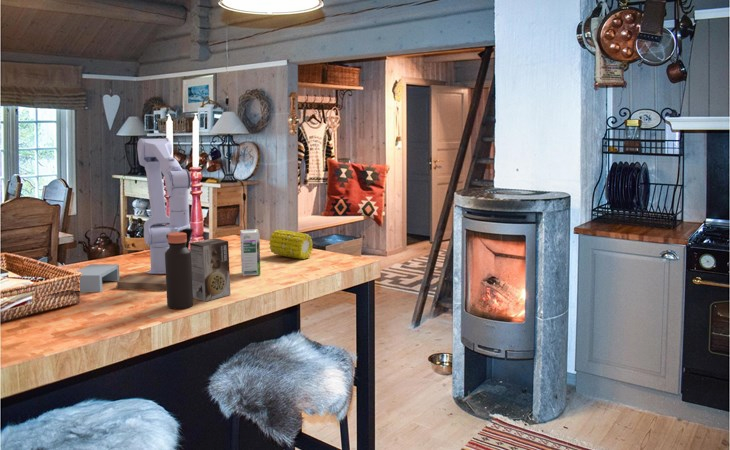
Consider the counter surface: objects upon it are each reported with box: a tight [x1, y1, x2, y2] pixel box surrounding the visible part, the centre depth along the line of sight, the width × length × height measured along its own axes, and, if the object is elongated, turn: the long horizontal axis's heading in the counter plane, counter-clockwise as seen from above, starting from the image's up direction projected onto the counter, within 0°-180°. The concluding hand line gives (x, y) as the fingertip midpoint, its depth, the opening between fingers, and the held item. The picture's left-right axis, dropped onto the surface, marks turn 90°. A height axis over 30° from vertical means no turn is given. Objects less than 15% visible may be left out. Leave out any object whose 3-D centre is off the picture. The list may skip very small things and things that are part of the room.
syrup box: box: [240, 229, 261, 277], centre depth 213 cm, size 6×6×14 cm
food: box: [269, 229, 313, 260], centre depth 239 cm, size 15×12×10 cm
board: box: [116, 275, 167, 292], centre depth 198 cm, size 16×8×2 cm, turn 82°
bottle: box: [165, 232, 194, 310], centre depth 176 cm, size 7×7×20 cm
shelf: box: [76, 263, 121, 293], centre depth 198 cm, size 9×14×5 cm, turn 179°
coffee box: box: [189, 237, 231, 302], centre depth 186 cm, size 9×6×16 cm
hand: (181, 254), depth 198 cm, fingers open, 7 cm apart
